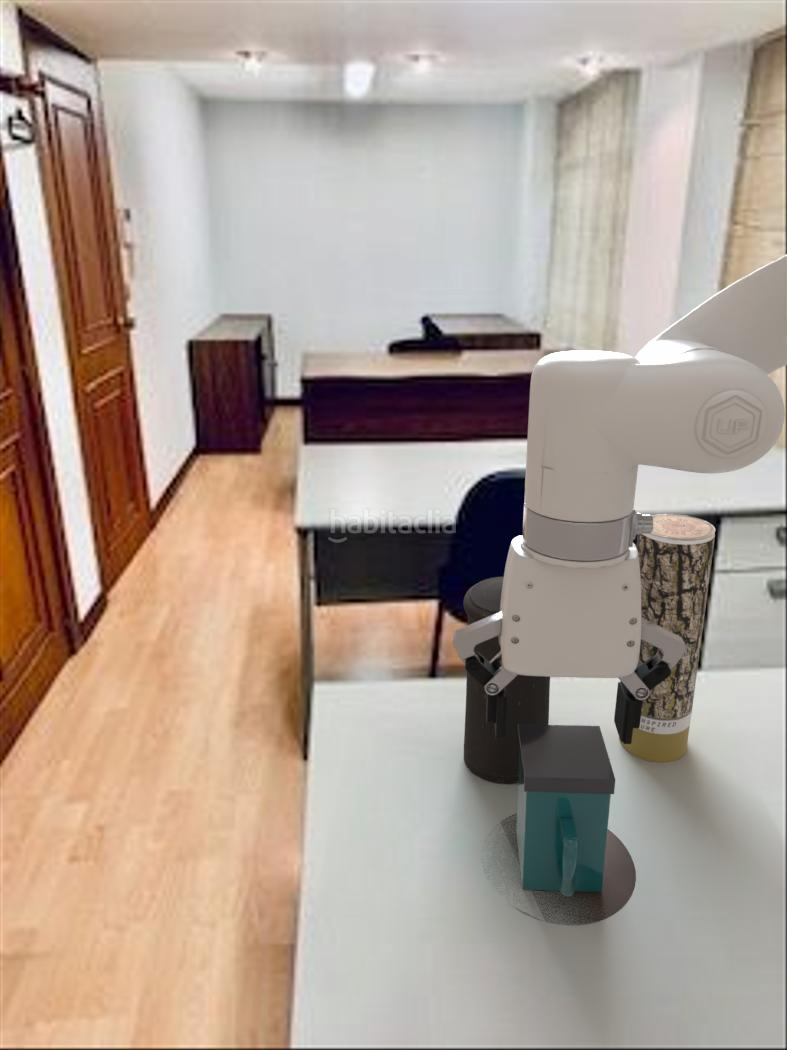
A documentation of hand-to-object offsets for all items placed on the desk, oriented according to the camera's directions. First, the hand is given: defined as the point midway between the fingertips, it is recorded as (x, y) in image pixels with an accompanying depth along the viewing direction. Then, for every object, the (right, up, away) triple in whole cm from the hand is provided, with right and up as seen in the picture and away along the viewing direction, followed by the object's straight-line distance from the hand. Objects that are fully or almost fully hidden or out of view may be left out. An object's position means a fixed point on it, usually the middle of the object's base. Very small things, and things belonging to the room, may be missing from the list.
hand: (560, 731), depth 60 cm
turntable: (+1, -13, +5) cm, 14 cm away
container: (-2, -9, +18) cm, 20 cm away
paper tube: (+14, -7, +20) cm, 25 cm away
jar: (+1, -13, +3) cm, 13 cm away
